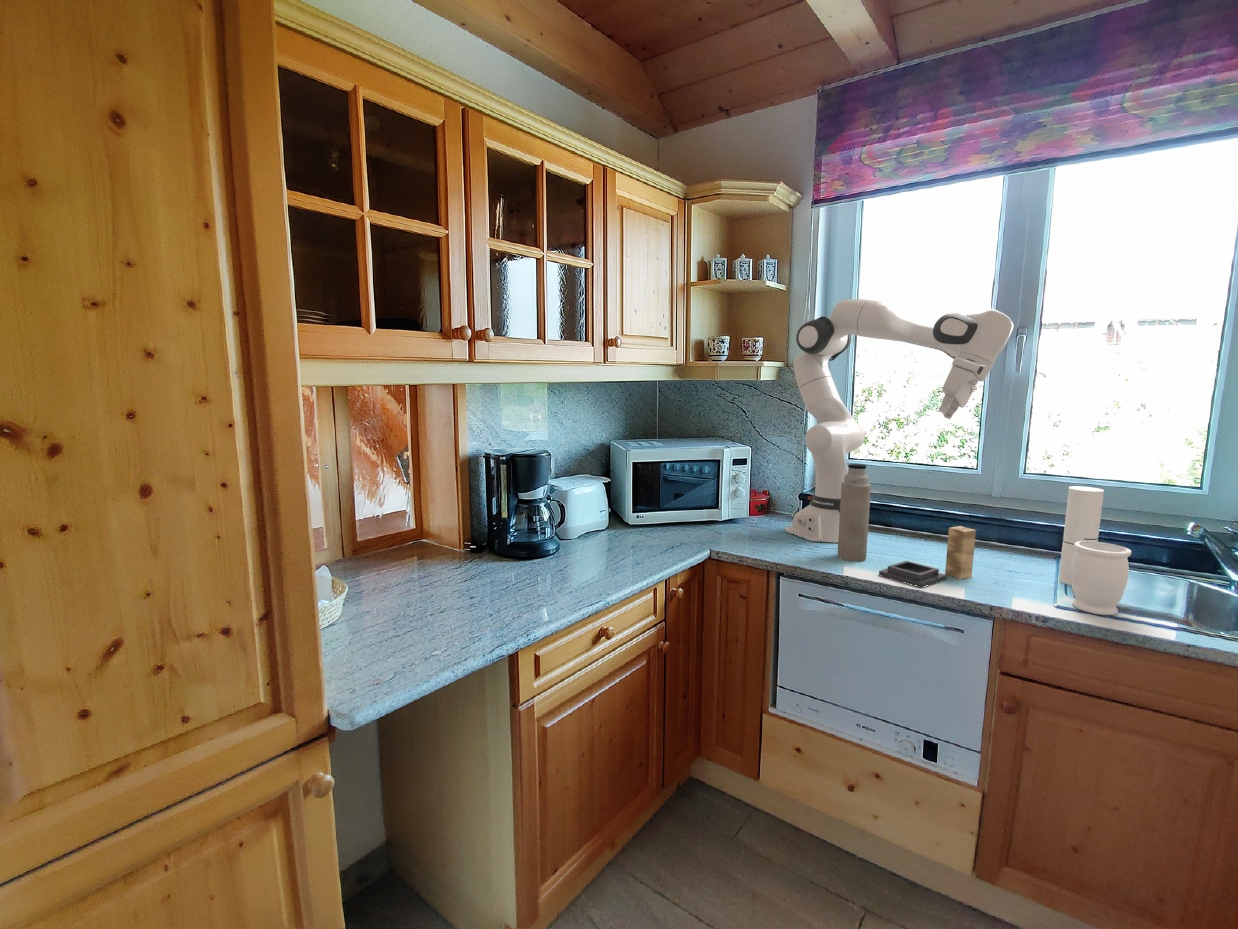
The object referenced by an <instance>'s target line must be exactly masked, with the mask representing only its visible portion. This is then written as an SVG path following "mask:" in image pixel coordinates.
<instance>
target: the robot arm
mask: <svg viewBox="0 0 1238 929" xmlns="http://www.w3.org/2000/svg"><path fill="white" fill-rule="evenodd" d="M1013 329H1014V322H1013V321H1012V319H1011V318H1010V317H1009V316H1008V315H1006V314H1005V313H1004V312H1002V311H1000V310H999V309H994V308H987V309H984V310H982V311H977V312H969V313H968V312H967V313H963V312H962V313H960V312H957V311H956V312H949V313H948V312H947V313H945V314H943V315H941V317H939V318H938V320H936V322H935V323H934V325H930V324H924V323H921V322H918V321H915V320H914V319H912V318H909V317H908V316H907V315H905V314H904V313H903V312H901V310H899V309H897V308H896V307H895V306H894V305H891V304H889V303H885V302H883V301H880V300H879V301H878V300H871V299H865V298H864V299H862V298H861V299H860V298H859V299H857V298H854V299H853V298H851V299H843V300H840V301H838V302H837V303H836V304H835V305H834V307H833V308H832V310H831V315H829V316H828V317H827V316H825V315H823V316H822V315H821V316H820V317H818V318H815V319H812V320H809V321H807V322H805V323H803V324H802V325H801V326H800V327H799V328H798V330H797V332H796V336H795V338H796V339H795V340H796V345H797V346H798V348H799V349H800V350H801V351H802V353H801V354H799V355H798V356H797V357H796V358H795V359H794V362H793V371H794V376H795V380H796V383H797V387H798V389H799V393H800V396H801V399H802V401H803V403H804V407H805V410H806V411H807V412H808V413H809V414H810V415H811V416H812V417H813V418H814V419H815V420H816V422H817V424H815V425H813V426H811V427H810V428H809V429H808V430H807V431H806V433H805V438H804V440H805V441H804V443H805V446H806V448H807V449H808V451H810V453H811V456H812V460H813V463H814V470H815V484H814V485H815V489H814V490H815V491H814V494H812V495H809V496H807V501H808V500H809V501H810V503H809V505H807V506H805V507H804V508H802V509H801V510H800V511H797V512H796V513H795V514H794V516H793V519H792V521H791V522H792V524H791V525H790V526H787V527H785V529H784V532H785V533H788V534H791V535H793V534H794V535H793V536H796V535H797V536H796V537H800V538H802V537H803V538H802V539H804V538H805V539H804V540H806V541H810V542H814V541H815V542H817V541H818V543H820V541H821V542H822V543H823V542H824V543H837V544H838V537H839V520H840V503H841V486H842V482H844V478H845V475H846V474H848V469H849V467H848V465H847V461H846V454H848V453H852V452H854V451H856V450H857V449H859V448H860V447H861V446H862V445H863V444H864V443H865V442H864V441H865V438H866V434H865V433H866V432H865V429H864V428H863V426H862V425H861V424H860V423H858V422H857V421H856V420H855V419H854V417H853V415H852V414H851V413H850V412H849V411H850V410H848V408H847V407H846V405H845V404H844V402H843V401H842V398H841V396H840V393H839V392H838V388H837V387H836V384H835V381H834V379H833V376H832V374H831V371H830V369H829V362H830V361H831V362H832V361H834V360H836V358H838V357H839V356H840V355H841V354H843V353H844V352H845V351H846V350H847V349H848V348H849V347H850V345H851V342H852V336H853V335H854V336H859V337H863V338H868V339H869V338H870V339H879V340H887V341H893V342H902V343H906V344H907V343H908V344H912V345H917V346H921V347H925V348H929V349H933V350H934V349H935V350H936V351H937V350H938V351H941V352H943V353H945V354H946V355H947V356H948V357H950V358H951V359H953V360H952V363H951V368H950V371H949V373H948V375H947V377H946V380H945V382H944V384H943V387H942V393H944V396H943V398H942V402H941V404H940V406H939V408H938V411H939V412H940V413H941V414H943V417H944V418H946V419H948V420H951V418H952V417H953V416H954V414H955V413H956V412H957V411H958V410H959V408H965V407H966V405H967V403H968V402H969V400H970V398H971V396H972V394H973V392H974V390H975V388H976V386H977V384H978V382H985V381H986V379H987V377H988V375H989V374H990V372H991V370H992V368H993V367H994V365H995V361H996V359H997V357H998V356H999V354H1000V353H1002V351H1003V349H1004V348H1005V346H1006V344H1007V342H1008V340H1009V338H1010V336H1011V333H1012V332H1013ZM815 542H814V543H815Z"/></svg>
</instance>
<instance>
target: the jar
mask: <svg viewBox="0 0 1238 929" xmlns="http://www.w3.org/2000/svg"><path fill="white" fill-rule="evenodd" d="M1074 548H1075V549H1076V552H1075V554H1074V557H1073V560H1072V565H1071V579H1072V585H1071V588H1072V589H1071V590H1072V593H1073V596H1074V597H1075V599H1074V600H1073V601H1072V603H1071V604H1072V606H1073V607H1075V608H1076V609H1078V610H1079V611H1083V612H1085V613H1088V614H1089V613H1090V614H1094V615H1102V616H1114V615H1117V614H1118V613H1119V611H1118V608H1117V607H1116V606H1117V605H1118V604H1119V603H1120V601H1121V600H1122V598H1123V595H1124V592H1125V590H1126V586H1127V584H1128V581H1129V574H1130V572H1129V571H1130V568H1129V559H1128V558H1129V557H1130V556H1131V555H1132V550H1131V549H1130V548H1127V547H1125V546H1123V545H1122V546H1121V545H1118V544H1113V543H1109V542H1102V541H1098V542H1095V541H1078V542H1075V543H1074Z"/></svg>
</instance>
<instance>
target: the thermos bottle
mask: <svg viewBox="0 0 1238 929" xmlns="http://www.w3.org/2000/svg"><path fill="white" fill-rule="evenodd" d="M847 467H848V474H846V475H845V478H844V482H842V486H841V503H840V520H839V537H838V543H837V558H838V559H840V558H841V559H840V560H842V559H843V561H846V562H853V561H860V562H864V561H866V560H867V552H868V536H869V522H870V521H869V520H870V519H869V518H870V505H871V490H872V489H871V488H872V487H871V486H872V484H871V483H869V481H870V478H869V476H868V475H867V470H866V469H867V464H866V465H865V464H861V463H850V464H848V465H847Z"/></svg>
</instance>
